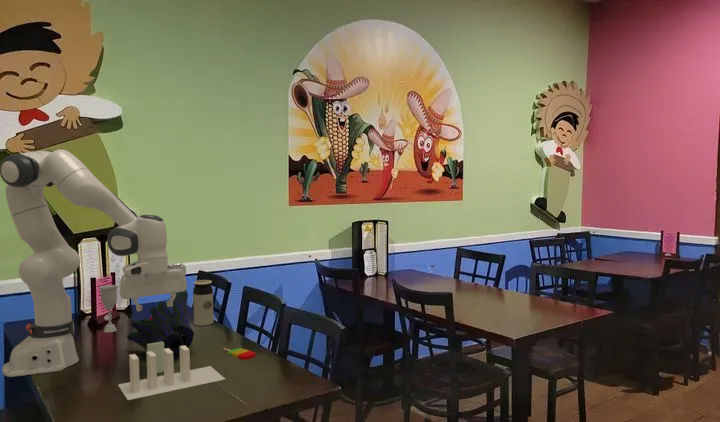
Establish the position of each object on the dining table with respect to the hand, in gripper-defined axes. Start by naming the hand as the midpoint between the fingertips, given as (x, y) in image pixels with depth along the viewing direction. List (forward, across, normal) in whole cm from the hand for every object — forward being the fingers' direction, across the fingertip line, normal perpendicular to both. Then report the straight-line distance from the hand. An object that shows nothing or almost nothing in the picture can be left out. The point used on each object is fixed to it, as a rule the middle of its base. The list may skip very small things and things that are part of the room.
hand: (154, 308), depth 185 cm
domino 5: (+21, -6, +11) cm, 24 cm away
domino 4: (+21, -1, +11) cm, 24 cm away
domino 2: (+21, 0, 0) cm, 21 cm away
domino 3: (+21, +4, +11) cm, 24 cm away
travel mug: (+22, -32, -49) cm, 62 cm away
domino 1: (+21, +9, +11) cm, 25 cm away
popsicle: (+22, -29, -4) cm, 37 cm away
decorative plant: (+22, -8, -22) cm, 32 cm away
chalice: (+21, +3, -60) cm, 64 cm away
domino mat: (+21, -2, +11) cm, 24 cm away
